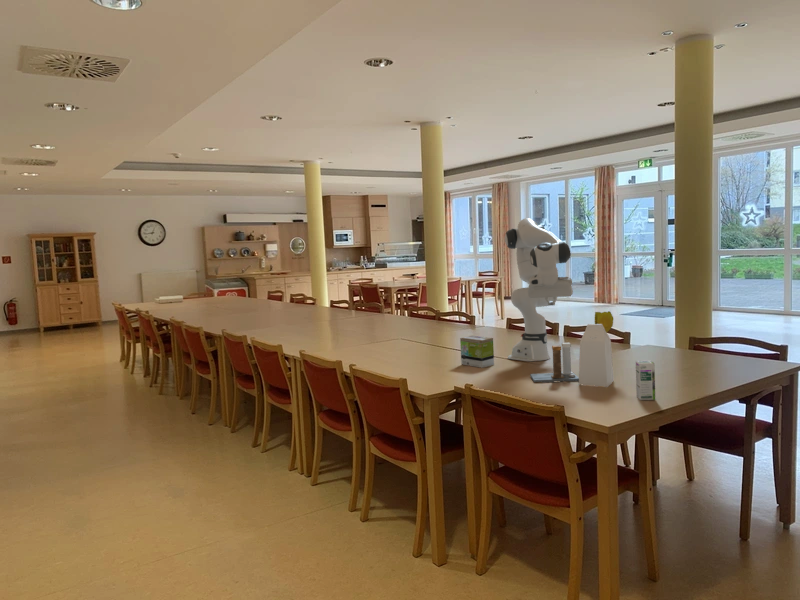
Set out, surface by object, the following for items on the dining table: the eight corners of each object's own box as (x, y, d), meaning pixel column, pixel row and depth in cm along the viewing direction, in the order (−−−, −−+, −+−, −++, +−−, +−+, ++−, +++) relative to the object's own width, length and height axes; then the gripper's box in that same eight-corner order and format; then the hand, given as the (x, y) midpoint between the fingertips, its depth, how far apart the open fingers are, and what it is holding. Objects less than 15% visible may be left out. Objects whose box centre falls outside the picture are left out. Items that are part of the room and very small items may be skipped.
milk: (613, 381, 257) (612, 322, 255) (607, 387, 248) (605, 326, 246) (586, 379, 264) (584, 322, 262) (578, 384, 254) (577, 325, 252)
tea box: (460, 365, 311) (459, 337, 310) (473, 361, 318) (472, 335, 317) (482, 368, 300) (481, 339, 299) (494, 365, 307) (493, 337, 305)
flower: (615, 378, 263) (614, 311, 261) (596, 378, 265) (595, 312, 262) (613, 373, 271) (612, 309, 269) (595, 373, 273) (593, 310, 271)
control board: (534, 382, 262) (534, 377, 262) (530, 376, 275) (529, 371, 275) (579, 381, 261) (579, 375, 261) (573, 374, 274) (573, 369, 273)
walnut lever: (552, 378, 263) (551, 347, 262) (551, 376, 267) (550, 345, 266) (564, 377, 263) (563, 346, 261) (562, 375, 267) (561, 345, 265)
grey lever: (562, 374, 269) (561, 344, 268) (560, 372, 273) (559, 342, 272) (573, 374, 269) (572, 343, 267) (571, 372, 273) (570, 342, 271)
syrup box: (639, 400, 225) (639, 363, 223) (636, 396, 230) (635, 360, 229) (655, 400, 224) (654, 362, 223) (651, 396, 230) (650, 359, 228)
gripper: (572, 274, 270) (575, 301, 275) (528, 276, 278) (531, 303, 283) (570, 279, 265) (573, 306, 270) (525, 281, 273) (529, 308, 278)
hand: (551, 305), depth 276 cm, fingers closed
